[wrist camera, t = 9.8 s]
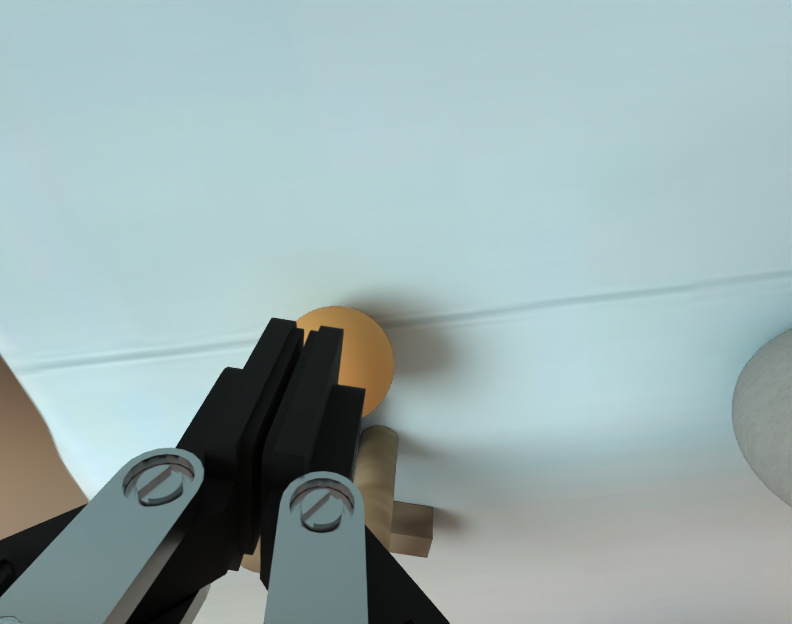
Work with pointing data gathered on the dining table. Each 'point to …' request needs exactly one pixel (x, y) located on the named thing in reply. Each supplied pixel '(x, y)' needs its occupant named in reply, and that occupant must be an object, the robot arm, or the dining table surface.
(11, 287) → the dining table surface
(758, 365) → the ball
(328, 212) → the dining table surface
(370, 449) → the pin
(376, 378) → the orange ball
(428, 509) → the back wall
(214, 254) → the dining table surface
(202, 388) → the dining table surface
